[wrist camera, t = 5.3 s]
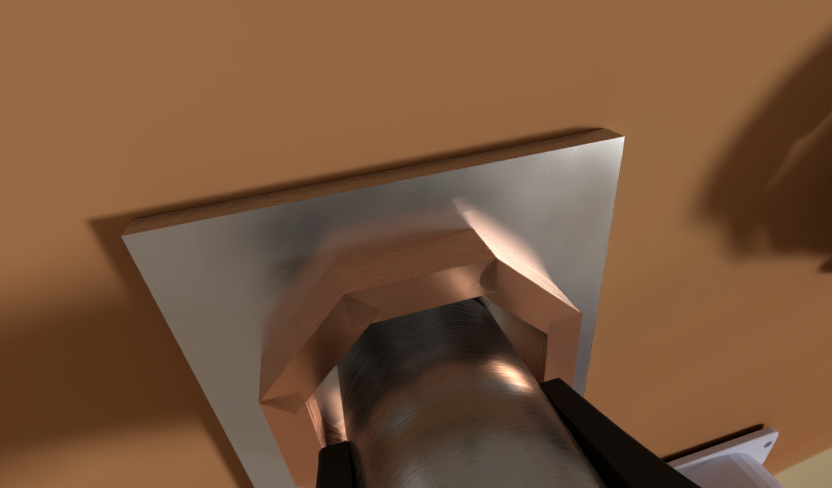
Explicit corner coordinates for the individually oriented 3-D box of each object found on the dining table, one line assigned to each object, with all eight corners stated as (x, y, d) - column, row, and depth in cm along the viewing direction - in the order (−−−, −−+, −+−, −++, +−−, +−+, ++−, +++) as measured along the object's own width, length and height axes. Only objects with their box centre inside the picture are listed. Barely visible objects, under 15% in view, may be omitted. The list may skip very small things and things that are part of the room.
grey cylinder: (503, 276, 12) (713, 537, 6) (498, 399, 15) (645, 671, 9) (324, 314, 11) (365, 665, 5) (351, 439, 14) (400, 775, 8)
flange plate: (567, 412, 18) (601, 461, 16) (275, 504, 16) (274, 573, 14) (605, 128, 12) (668, 154, 10) (131, 219, 10) (94, 275, 8)
